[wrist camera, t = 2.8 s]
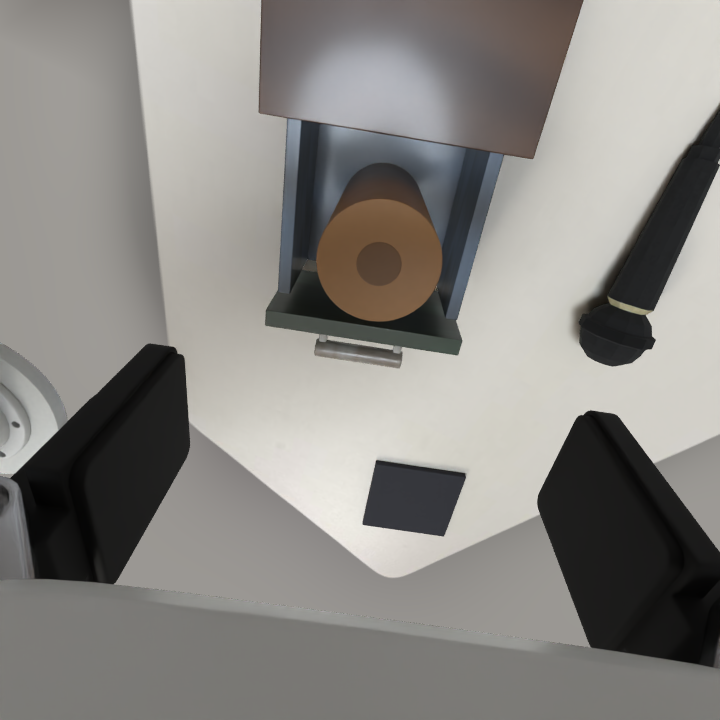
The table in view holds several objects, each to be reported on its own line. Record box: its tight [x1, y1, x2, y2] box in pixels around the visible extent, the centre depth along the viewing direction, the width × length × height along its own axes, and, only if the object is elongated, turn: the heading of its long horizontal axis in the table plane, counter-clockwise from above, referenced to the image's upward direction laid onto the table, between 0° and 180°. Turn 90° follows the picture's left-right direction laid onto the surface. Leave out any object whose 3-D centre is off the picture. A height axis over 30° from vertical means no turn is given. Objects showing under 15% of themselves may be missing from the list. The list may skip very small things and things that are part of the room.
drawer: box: [265, 118, 504, 368], centre depth 31 cm, size 21×13×9 cm, turn 172°
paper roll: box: [316, 163, 443, 321], centre depth 27 cm, size 6×6×14 cm
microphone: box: [579, 111, 720, 366], centre depth 34 cm, size 6×6×20 cm
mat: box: [363, 461, 466, 536], centre depth 51 cm, size 10×10×1 cm
